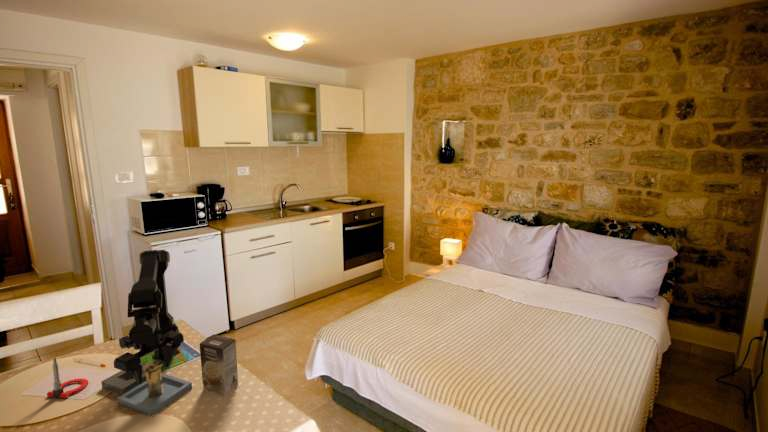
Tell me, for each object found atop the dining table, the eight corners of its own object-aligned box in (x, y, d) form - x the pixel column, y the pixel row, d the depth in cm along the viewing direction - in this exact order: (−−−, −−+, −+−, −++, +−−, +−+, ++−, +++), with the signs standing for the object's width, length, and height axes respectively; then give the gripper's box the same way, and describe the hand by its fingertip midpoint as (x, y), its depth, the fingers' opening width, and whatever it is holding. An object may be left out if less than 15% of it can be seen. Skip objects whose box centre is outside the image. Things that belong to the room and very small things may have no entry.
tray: (160, 378, 127) (160, 372, 127) (192, 388, 122) (191, 382, 122) (118, 404, 114) (117, 398, 114) (151, 416, 109) (150, 410, 109)
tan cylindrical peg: (157, 386, 121) (154, 358, 120) (169, 390, 120) (166, 362, 118) (142, 396, 117) (138, 367, 115) (154, 400, 115) (150, 371, 113)
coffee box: (202, 390, 121) (197, 343, 118) (216, 378, 127) (213, 333, 124) (225, 396, 118) (221, 348, 115) (239, 384, 124) (236, 338, 121)
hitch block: (138, 368, 133) (137, 361, 132) (159, 375, 129) (158, 368, 128) (102, 388, 122) (101, 381, 121) (123, 396, 118) (122, 389, 117)
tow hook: (72, 380, 127) (44, 397, 117) (69, 343, 125) (39, 357, 116) (95, 383, 125) (68, 400, 116) (91, 345, 123) (63, 360, 114)
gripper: (157, 310, 125) (162, 354, 128) (97, 336, 108) (104, 386, 111) (182, 316, 121) (187, 361, 124) (124, 344, 104) (130, 396, 107)
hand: (153, 375), depth 117 cm, fingers open, 9 cm apart
